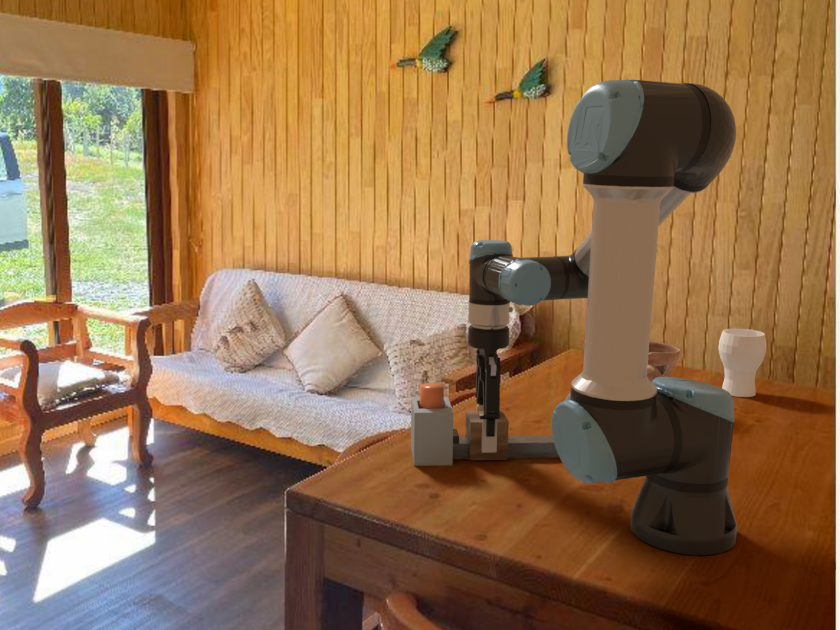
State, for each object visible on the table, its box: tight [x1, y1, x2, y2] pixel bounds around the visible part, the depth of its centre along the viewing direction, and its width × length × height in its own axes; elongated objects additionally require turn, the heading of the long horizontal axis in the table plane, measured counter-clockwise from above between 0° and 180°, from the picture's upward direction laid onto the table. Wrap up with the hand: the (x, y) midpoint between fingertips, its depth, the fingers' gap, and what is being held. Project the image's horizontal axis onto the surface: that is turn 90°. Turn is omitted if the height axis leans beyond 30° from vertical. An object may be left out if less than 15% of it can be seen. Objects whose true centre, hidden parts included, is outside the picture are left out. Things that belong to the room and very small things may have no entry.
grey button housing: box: [410, 396, 454, 467], centre depth 153 cm, size 10×7×10 cm
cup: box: [718, 328, 767, 398], centre depth 197 cm, size 11×11×15 cm
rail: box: [453, 428, 560, 460], centre depth 154 cm, size 4×24×4 cm, turn 94°
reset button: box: [419, 382, 445, 409], centre depth 152 cm, size 4×4×6 cm
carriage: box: [464, 410, 510, 461], centre depth 154 cm, size 7×7×8 cm
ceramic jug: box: [647, 341, 681, 382], centre depth 185 cm, size 18×14×14 cm
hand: (485, 444), depth 154 cm, fingers closed on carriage, 7 cm apart
